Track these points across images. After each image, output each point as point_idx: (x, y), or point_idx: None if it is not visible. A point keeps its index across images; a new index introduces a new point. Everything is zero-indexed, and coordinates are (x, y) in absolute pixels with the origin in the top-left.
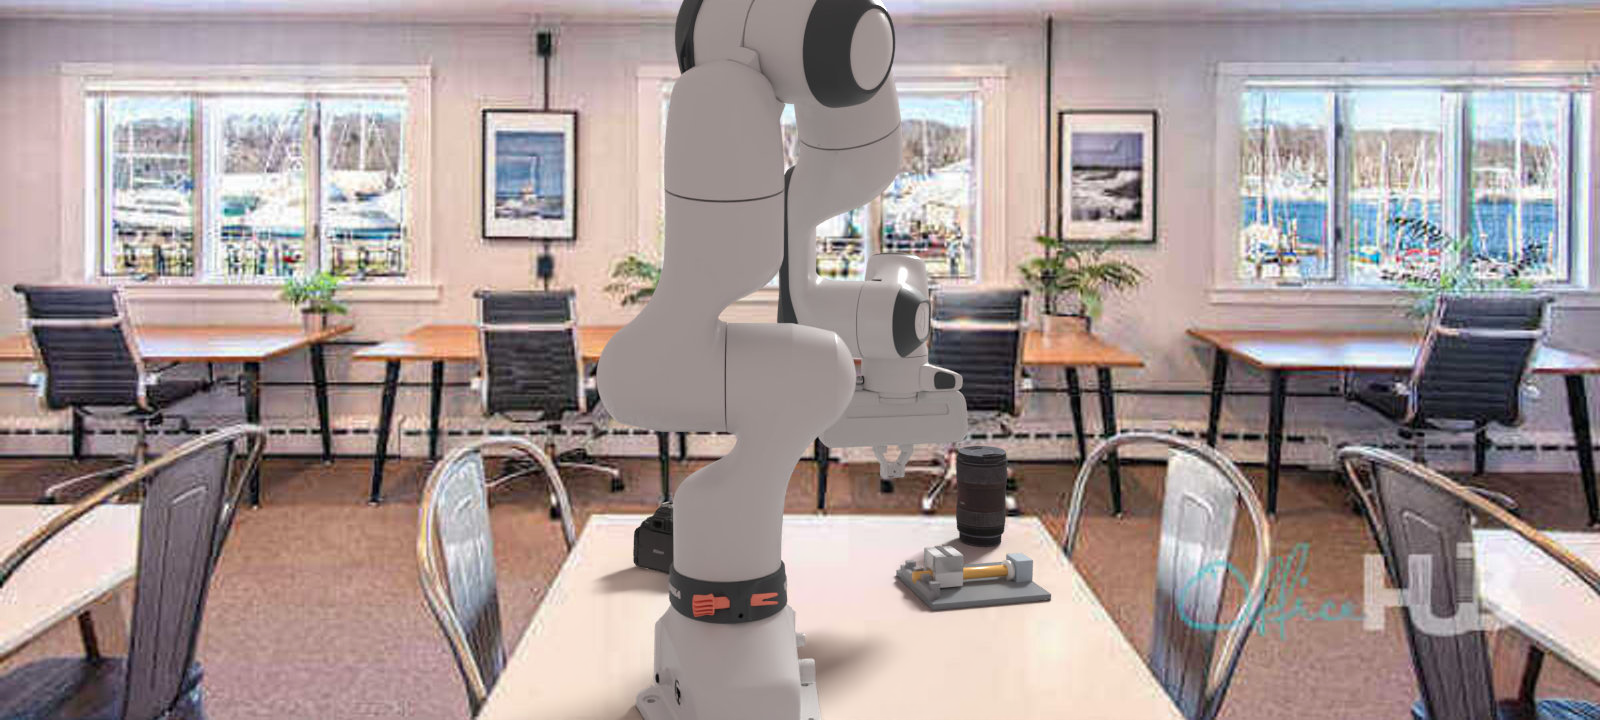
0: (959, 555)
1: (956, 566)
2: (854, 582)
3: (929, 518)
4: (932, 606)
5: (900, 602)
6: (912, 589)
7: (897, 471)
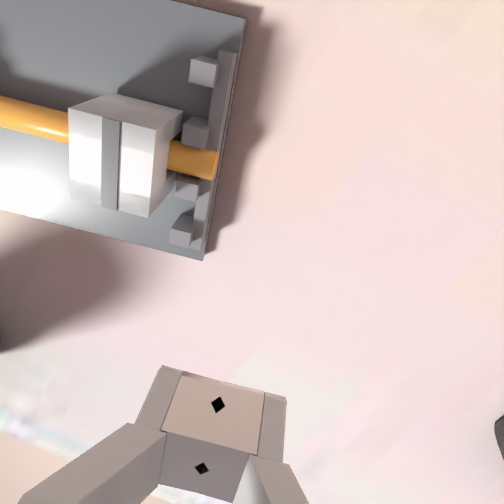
0: (80, 112)
1: (105, 107)
2: (309, 261)
3: (15, 435)
4: (245, 20)
5: (289, 110)
6: (220, 163)
7: (198, 400)
